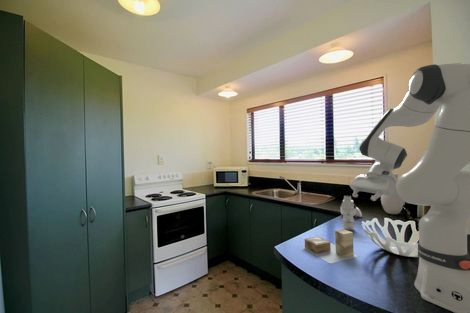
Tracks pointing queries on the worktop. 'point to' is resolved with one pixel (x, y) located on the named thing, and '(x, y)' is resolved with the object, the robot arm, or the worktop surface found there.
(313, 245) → the walnut plinth
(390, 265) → the worktop surface
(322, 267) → the worktop surface
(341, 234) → the birch column
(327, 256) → the pale flat sheet
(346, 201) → the grey statuette
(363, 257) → the worktop surface
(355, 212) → the pale grey lumpy piece
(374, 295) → the worktop surface
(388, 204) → the vase
